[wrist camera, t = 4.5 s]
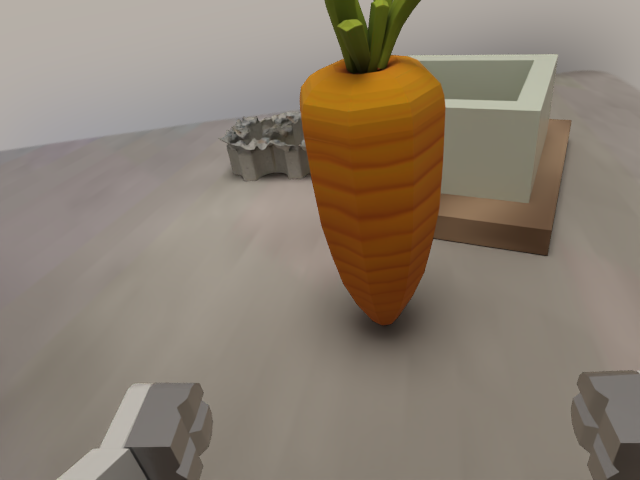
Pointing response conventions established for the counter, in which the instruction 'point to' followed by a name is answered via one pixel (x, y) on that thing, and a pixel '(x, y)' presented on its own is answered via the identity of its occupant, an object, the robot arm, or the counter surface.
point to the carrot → (375, 156)
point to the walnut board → (511, 206)
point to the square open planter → (493, 121)
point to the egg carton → (268, 147)
